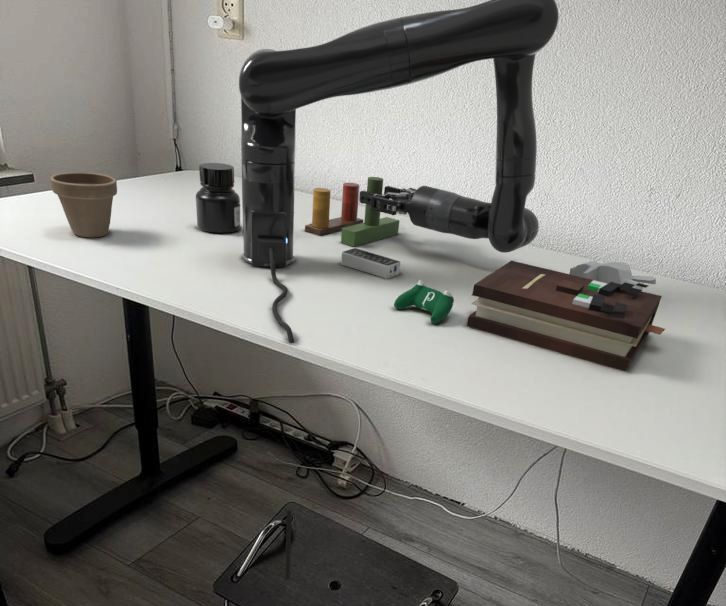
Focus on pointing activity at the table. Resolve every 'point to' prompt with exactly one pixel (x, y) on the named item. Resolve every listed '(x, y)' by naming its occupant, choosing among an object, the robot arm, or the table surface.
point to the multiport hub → (370, 263)
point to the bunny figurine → (610, 273)
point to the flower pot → (86, 201)
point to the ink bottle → (217, 199)
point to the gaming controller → (426, 301)
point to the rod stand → (322, 208)
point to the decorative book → (566, 313)
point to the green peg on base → (370, 222)
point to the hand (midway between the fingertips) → (373, 193)
